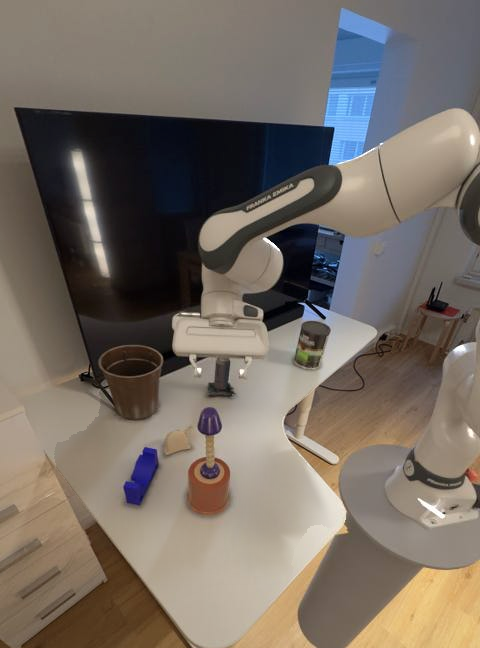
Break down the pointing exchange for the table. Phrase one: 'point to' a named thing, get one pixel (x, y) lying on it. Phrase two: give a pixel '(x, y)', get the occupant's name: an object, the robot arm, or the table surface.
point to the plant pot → (133, 379)
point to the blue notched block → (141, 476)
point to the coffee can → (311, 344)
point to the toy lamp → (209, 440)
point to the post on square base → (221, 379)
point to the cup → (208, 488)
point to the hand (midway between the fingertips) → (220, 377)
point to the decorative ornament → (177, 441)
